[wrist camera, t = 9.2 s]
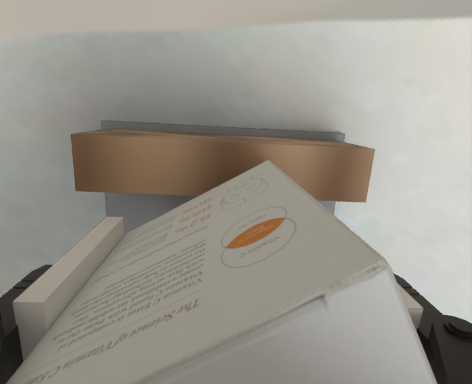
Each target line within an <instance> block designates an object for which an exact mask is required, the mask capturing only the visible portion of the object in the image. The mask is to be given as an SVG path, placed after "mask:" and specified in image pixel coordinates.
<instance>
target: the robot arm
mask: <svg viewBox="0 0 472 384" xmlns="http://www.w3.org/2000/svg"><path fill="white" fill-rule="evenodd" d="M123 237H124V224H123V217H106V218H105V219H103V220H102V221H101V222H100V223H99V224H98V225H97V226H96V227H95V228H94V229H92V230H91V231H90V232H89V233H88V234H87V235H86V236H85V237H84V238H83V239H81V240H80V241H79V242H78V243H77V244H76V245H75V246H74V247H73V248H71V249H70V250H69V251H68V252H67V253H66V254H65V255H64V256H63V257H62V258H60V259H59V260H58V261H57V262H56V263H55V264H54V265H44V266H42V267H40V268H38V269H36V270H34V271H32V272H31V273H29V274H28V275H27V276H26V277H25V278H23V279H22V280H21V282H19V283H17V284H16V285H15V286H14V287H13V289H10V290H9V291H8V292H7V293H5V294H4V295H3V296H2V297H1V298H0V384H6V383H7V382H8V380H9V379H10V378H11V377H12V376H13V374H14V373H15V372H16V371H17V369H18V368H19V367H20V366H21V364H22V363H23V362H24V361H25V359H26V358H27V357H28V356H29V354H30V353H31V352H32V351H33V349H34V348H35V347H36V346H37V344H38V343H39V342H40V340H41V339H42V338H43V337H44V335H45V334H46V333H47V332H48V330H49V329H50V328H51V326H52V325H53V324H54V323H55V321H56V320H57V319H58V318H59V316H60V315H61V314H62V313H63V311H64V310H65V309H66V308H67V306H68V305H69V304H70V303H71V301H72V300H73V299H74V297H75V296H76V295H77V294H78V292H79V291H80V290H81V289H82V287H83V286H84V285H85V284H86V283H87V281H88V280H89V279H90V277H91V276H92V275H93V274H94V273H95V272H96V270H97V269H98V268H99V266H100V265H101V264H102V263H103V261H104V260H105V259H106V258H107V256H108V255H109V254H110V253H111V251H112V250H113V249H114V248H115V247H116V246H117V244H118V243H119V242H120V241H121V239H122V238H123ZM393 274H394V273H393ZM394 277H395V279H396V282H397V284H398V287H399V290H400V292H401V294H402V297H403V299H404V302H405V304H406V307H407V309H408V312H409V314H410V317H411V319H412V322H413V324H414V326H415V329H416V331H417V334H418V336H419V339H420V341H421V344H422V346H423V349H424V351H425V354H426V356H427V359H428V361H429V364H430V366H431V369H432V371H433V374H434V376H435V379H436V381H437V384H472V324H471V323H469V322H468V321H466V320H463V319H460V318H457V317H454V316H448V315H443V314H442V313H440V312H439V311H438V310H437V309H436V308H435V307H434V306H433V305H432V304H431V303H429V302H428V301H427V300H426V299H425V298H424V297H423V296H422V295H420V294H419V293H418V292H417V291H416V290H415V289H412V286H411V285H410V284H408V283H407V282H406V281H405V280H404V279H403V278H401V277H399V276H397V275H395V274H394Z"/></svg>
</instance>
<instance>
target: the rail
mask: <svg viewBox="0 0 472 384" xmlns="http://www.w3.org/2000/svg"><path fill="white" fill-rule="evenodd" d="M71 141H72V153H73V164H74V176H75V188H76V191H86V192H112V193H138V194H163V195H189V196H200V195H202V194H204V193H206V192H208V191H210V190H211V189H213V188H215V187H217V186H219V185H221V184H223V183H225V182H227V181H229V180H231V179H233V178H235V177H237V176H239V175H241V174H242V173H244V172H246V171H248V170H250V169H252V168H254V167H256V166H258V165H260V164H261V163H263V162H265V161H267V160H270V161H271V162H272V163H273V164H274V165H276V166H277V167H278V168H279V169H280V170H282V171H283V172H284V173H285V174H286V175H287V176H289V177H290V178H291V179H292V180H293V181H295V182H296V183H297V184H298V185H299V186H301V187H302V188H303V189H304V190H305V191H306V192H307V193H309V194H310V195H311V196H312V197H313V198H314V199H315V200H319V201H345V202H366V198H367V192H368V186H369V180H370V174H371V169H372V163H373V157H374V151H375V149H371V148H367V147H363V146H358V145H354V144H350V143H345V142H341V141H334V140H315V139H295V138H276V137H256V136H236V135H217V134H197V133H178V132H158V131H138V130H119V129H106V130H98V131H91V132H84V133H77V134H71Z"/></svg>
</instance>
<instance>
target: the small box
mask: <svg viewBox="0 0 472 384" xmlns="http://www.w3.org/2000/svg"><path fill="white" fill-rule="evenodd" d="M6 384H437V381H436V379H435V376H434V374H433V371H432V369H431V366H430V364H429V361H428V359H427V356H426V354H425V351H424V349H423V346H422V344H421V341H420V339H419V336H418V334H417V331H416V329H415V326H414V324H413V322H412V319H411V317H410V314H409V312H408V309H407V307H406V304H405V302H404V299H403V297H402V294H401V292H400V290H399V287H398V284H397V282H396V279H395V277H394V274H393V272H392V269H391V267H390V265H389V264H388V262H387V261H386V260H385V258H384V257H382V256H381V255H380V254H379V253H378V252H376V251H375V250H374V249H373V248H372V247H370V246H369V245H368V244H367V243H366V242H365V241H363V240H362V239H361V238H360V237H359V236H358V235H356V234H355V233H354V232H353V231H351V230H350V229H349V228H348V227H347V226H346V225H345V224H344V223H342V222H341V221H340V220H339V219H338V218H336V217H335V216H334V215H333V214H332V213H331V212H330V211H328V210H327V209H326V208H325V207H324V206H323V205H321V204H320V203H319V202H318V201H317V200H315V199H314V198H313V197H312V196H311V195H310V194H309V193H307V192H306V191H305V190H304V189H303V188H302V187H301V186H299V185H298V184H297V183H296V182H295V181H293V180H292V179H291V178H290V177H289V176H287V175H286V174H285V173H284V172H283V171H282V170H280V169H279V168H278V167H277V166H276V165H274V164H273V163H272V162H271V161H270V160H267V161H265V162H263V163H261V164H260V165H258V166H256V167H254V168H252V169H250V170H248V171H246V172H244V173H242V174H241V175H239V176H237V177H235V178H233V179H231V180H229V181H227V182H225V183H223V184H221V185H219V186H217V187H215V188H213V189H211V190H210V191H208V192H206V193H204V194H202V195H200V196H198V197H196V198H194V199H192V200H190V201H188V202H186V203H184V204H182V205H180V206H179V207H177V208H175V209H173V210H171V211H169V212H167V213H165V214H163V215H161V216H159V217H158V218H156V219H154V220H152V221H150V222H148V223H146V224H144V225H142V226H140V227H138V228H136V229H134V230H132V231H130V232H128V233H126V235H125V236H124V237H123V238H122V239H121V241H120V242H119V243H118V244H117V246H116V247H115V248H114V249H113V250H112V251H111V253H110V254H109V255H108V256H107V258H106V259H105V260H104V261H103V263H102V264H101V265H100V266H99V268H98V269H97V270H96V272H95V273H94V274H93V275H92V276H91V277H90V279H89V280H88V281H87V283H86V284H85V285H84V286H83V287H82V289H81V290H80V291H79V292H78V294H77V295H76V296H75V297H74V299H73V300H72V301H71V303H70V304H69V305H68V306H67V308H66V309H65V310H64V311H63V313H62V314H61V315H60V316H59V318H58V319H57V320H56V321H55V323H54V324H53V325H52V326H51V328H50V329H49V330H48V332H47V333H46V334H45V335H44V337H43V338H42V339H41V340H40V342H39V343H38V344H37V346H36V347H35V348H34V349H33V351H32V352H31V353H30V354H29V356H28V357H27V358H26V359H25V361H24V362H23V363H22V364H21V366H20V367H19V368H18V369H17V371H16V372H15V373H14V374H13V376H12V377H11V378H10V379H9V380H8V382H7V383H6Z"/></svg>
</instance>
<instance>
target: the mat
mask: <svg viewBox="0 0 472 384" xmlns="http://www.w3.org/2000/svg"><path fill="white" fill-rule="evenodd" d="M101 125H102V130H106V129H119V130H138V131H158V132H178V133H197V134H217V135H236V136H256V137H276V138H295V139H315V140H334V141H341V142H344V139H345V134H343V133H325V132H306V131H287V130H268V129H249V128H230V127H211V126H192V125H173V124H154V123H135V122H116V121H101ZM105 194H106V211H107V217H123V224H124V236H125V235H126V233H128V232H130V231H132V230H134V229H136V228H138V227H140V226H142V225H144V224H146V223H148V222H150V221H152V220H154V219H156V218H158V217H159V216H161V215H163V214H165V213H167V212H169V211H171V210H173V209H175V208H177V207H179V206H180V205H182V204H184V203H186V202H188V201H190V200H192V199H194V198H196V197H198V196H189V195H163V194H138V193H112V192H105ZM317 201H318V202H319V203H320V204H321V205H323V206H324V207H325V208H326V209H327V210H328V211H330V212H331V213H332V214H333V215H334V209H335V202H336V201H319V200H317Z"/></svg>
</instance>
